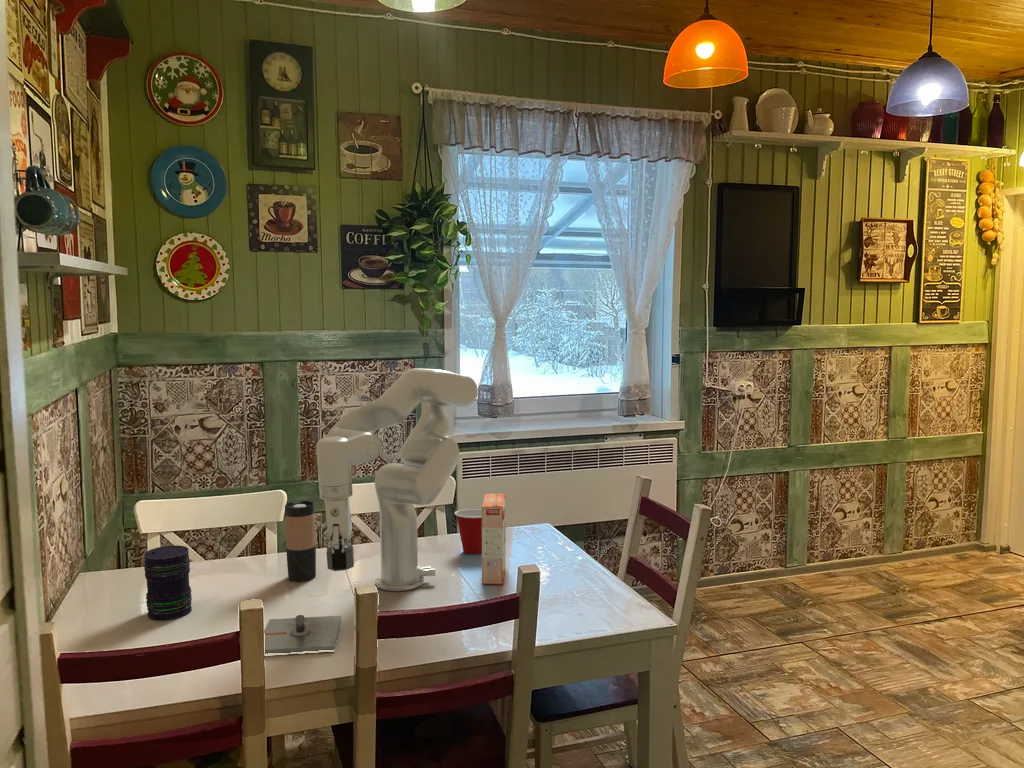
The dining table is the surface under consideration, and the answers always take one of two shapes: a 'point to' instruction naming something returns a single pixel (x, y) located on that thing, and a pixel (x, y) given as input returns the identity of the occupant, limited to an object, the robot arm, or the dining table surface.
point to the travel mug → (300, 541)
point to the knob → (349, 556)
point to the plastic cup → (470, 530)
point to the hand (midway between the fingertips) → (341, 562)
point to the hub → (301, 634)
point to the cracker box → (493, 538)
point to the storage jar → (167, 583)
